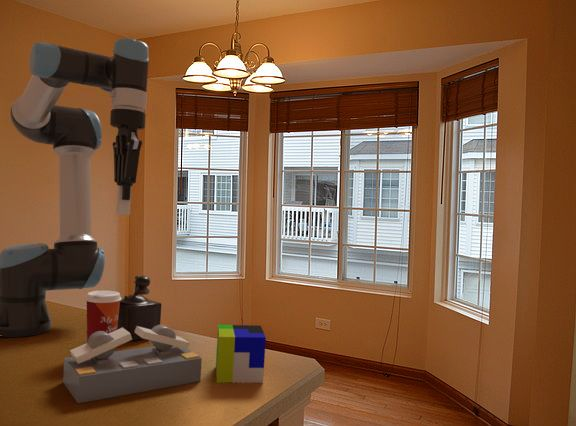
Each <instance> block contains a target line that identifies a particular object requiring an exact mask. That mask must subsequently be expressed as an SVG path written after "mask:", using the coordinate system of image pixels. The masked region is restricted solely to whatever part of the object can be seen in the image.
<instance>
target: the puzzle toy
mask: <svg viewBox="0 0 576 426" xmlns="http://www.w3.org/2000/svg"><path fill="white" fill-rule="evenodd" d="M266 339H267V338H266V334H265V332H264V330H263V328H262V326H261V325H256V324H255V325H249V324H247V325H245V324H244V325H243V324H217V338H216V353H215V354H216V358H215V373H216V374H215V376H216V383H218V384H219V383H221V382H222V383H224V384H225V382H227V384H228V382H233V384H235V382H237V383H240V382H241V383H240V384H245V383H246V382H247V383H246V384H249V383H254V382H255V383H256V384H257V383H261V384H264V372H265V358H266V356H265V355H266V343H267V342H266ZM237 383H236V384H237ZM255 383H254V384H255Z"/></svg>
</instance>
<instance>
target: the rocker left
mask: <svg viewBox="0 0 576 426" xmlns="http://www.w3.org/2000/svg"><path fill="white" fill-rule="evenodd" d="M130 340H132V337H131V334H130V333H129V332H128V331H127V330H125V329H124V328H123V327H122V328H120V329H118V330H116V331H113V332H111V333H109V334H108V333H106V332H104V331H97V332H95V333H93V334H92V335H91V336H90V337H89V339H88V341H87V340H86V342H85V343H83V344H81V345H80V346H77V347H75V348H73V349H70V351H69V352H70V354H71V357H73V358H74V359H75V361H76V362H77V363H78V364H79V363H82V362H84V361H86V360H88V359H90V358H93V357H96V358H98V359H106V358H108V357H110V356H111V355H112V354H113V353H114V352H115V351H116V348H117V347H119V346H121V345H124V344H126V343H128V342H129V341H130ZM130 342H131V341H130Z"/></svg>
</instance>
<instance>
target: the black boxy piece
mask: <svg viewBox="0 0 576 426" xmlns="http://www.w3.org/2000/svg"><path fill="white" fill-rule="evenodd" d="M134 279H135V280H134V281H133V284H135V285H134V293H133V294H129V295H124V297H123V298H122V299H121V300H120V306H119V315H118V324H117V330H118V329H120V328H122V327H123V328H124V329H125V330H127V331H128V332H129V333H130V334H131V337H132V340H130V341H128V342H137V341H143V340H144V339H143V338H141V337H140V336H139V335H137V334H136V333H134V332H135V329H136V326H138V327H142V328H147V329H152V328H153V327H155V326H157V325H161V319H162V317H161V316H162V302H158V301H155V300H151V299H149V298H147V297H146V296H144V295H148V294H150V289H149V288H148V287H149V286H150V284H151V280H150V277H148V276H146V275H135V277H134Z"/></svg>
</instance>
